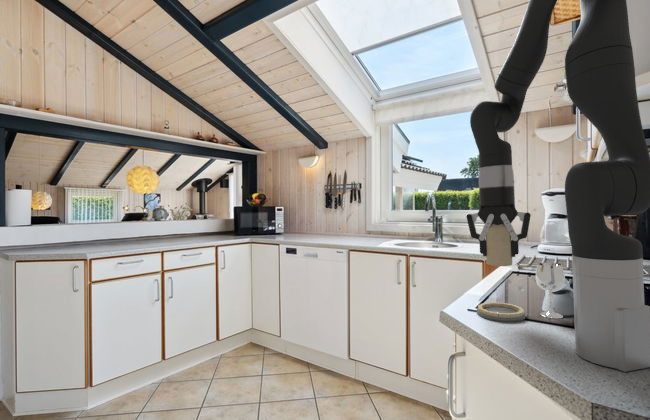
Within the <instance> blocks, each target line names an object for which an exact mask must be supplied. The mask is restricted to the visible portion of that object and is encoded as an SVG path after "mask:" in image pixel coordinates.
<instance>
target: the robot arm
mask: <svg viewBox="0 0 650 420" xmlns="http://www.w3.org/2000/svg"><path fill="white" fill-rule="evenodd" d="M557 2H558V0H528V2H527V7H526V8H525V9H526V10H525V12H524V15H523V18H522V21H521V24H520V26H519V30H518V32H517V35H516V37H515V40H514V43H513V44H512V46H511V48H510V51H509V52H508V55H507V57H506V59H505V61H504V63H503V65H502V66H501V68H500V71H499V73H498V74H497V77H496V79H495V81H494V84H493V85H494V89H495V90H496V91H497V92H498V93H500V94H501V99H500V100H499V101H492V100H491V101H490V100H489V101H488V100H486V101H485V100H484V101H480V102H478V103H476V105H475V106H474V107H473V109H472V111H471V113H470V117H469V118H470V119H469V120H470V121H469V124H470V128H471V132H472V135H473V138H474V141H475V144H476V147H477V150H478V163H479V169H478V170H479V173H478V190H479V191H478V192H479V193H478V194H479V195H478V196H479V208H478V209H479V210H478V211H477V212H475V213H468V214H467V215H466V221H467V224H468V229H469V232H470V233H469V234H470V237H471V238H472V239H476V240H478V242H479V253H480V254H482V257H486V234H487V232H488V229H489V227H490V226H491V225H492V224H495V225H500V224H503V225H505V226H506V228H507V229H508V232H510V236H511V242H512V258H516V255H518V254H520V252H519V249H520V247H519V241H520V240H523V239H527V237H528V232H529V226H530V223H531V222H530V221H531V216H532V215H531V213H530V212H528V211H527V212H523V211H518V210H517V208H516V203H515V202H516V200H515V198H516V196H515V176H514V175H515V174H514V170H513V155H512V154H513V152H512V146H511V143H509V142H508V141H505V140H503V139H501V138H500V136H499V133H505V132H508V131H509V130H511V129H513V127H515V125H516V124H517V122H518V121H519V118H520V116H521V113H522V110H523V106H524V102H525V99H526V95H527V91H528V89H529V87H530V86H531V84H532V83H533V81H534V79H535V78H536V76H537V74H538V72H539V70H540V69H541V67H542V66H543V63H544V60H545V59H546V58H545V57H546V55H547V50H548V46H549V45H548V44H549V43H548V42H549V32H550V24H551V20H552V15H553V12H554V10H555V6H556V4H557ZM579 7H580V22H579V25H578V26H577V27H578V28H577V29H576V31H575V34H574V35H573V37H572V39H571V41H570V44H569V45H568V48H567V50H566V53H565V58H564V70H565V80H566V89H567V94H568V96H569V99H570V100H571V102H572V103H573V105H575V107H576V109H578V110H579V111H580V113H582V115H583V116H585V118H586V119H587V120H588V121H589V122H590V123H591V124H592V125H593V126H594V127H595V129H596V130H597V131H598V133H599V134H600V136H601V137H602V139H603V142H604V144H605V148H606V152H607V155H608V156H607V157H608V160H603V161H602V160H601V161H600V160H599V161H585V162H584V161H583V162H579V163H576V164H574V165H573V166H571V167H570V168H569V170H568V172H567V174H566V176H565V182H564V198H565V201H564V202H565V208H566V219H567V229H568V231H567V232H568V237H569V242H570V245H571V259H572V260H571V261H572V262H571V263H572V265H571V266H572V286H573V287H572V291H573V293H572V294H573V295H572V296H573V316H574V317H573V318H574V339H575V353H576V354H577V355H578V356H579V357H580V358H582V359H583V360H586V361H587V362H590V363H594V364H596V365H599V366H603V367H606V368H612V369H616V370H618V371H621V372H623V373H624V372H631V371H636V370H642V369H647V368H648V369H649V368H650V306H649V305H646V304H645V290H644V287H645V286H644V282H645V281H644V253H643V251H644V250H643V244H642V242H641V241H640V240H639V239H637V238H634V237H631V236H627V235H623V234H620V233H618V232H616V231H614V230H613V229H610V228H609V227H608V225H607V224H606V219H605V217H606V216H607V217H608V216H629V215H631V216H632V215H634V216H635V215H640V214H643V213H645V212H646V211H647V210H649V208H650V152H649V149H648V144H647V141H646V138H645V133H644V129H643V125H642V119H641V112H640V108H639V107H640V106H639V101H638V100H639V99H638V94H637V93H638V92H637V83H636V68H635V59H634V50H633V45H632V40H631V34H630V25H629V24H630V22H629V14H628V13H629V12H628V3H627V0H579ZM516 217H518V218H519V220H520V222H522V225H521V230H520V233H517V232H516V231H515V229H514V227H513V225H512V223H513V222H514V220H515V219H516ZM478 218H479V219H480V221H482V222H483V224H484V225H483V228H482V230H481V233H478V232H477V229H476V225H475V222H477V219H478ZM508 226H509V227H508Z"/></svg>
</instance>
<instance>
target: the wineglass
mask: <svg viewBox="0 0 650 420" xmlns="http://www.w3.org/2000/svg"><path fill="white" fill-rule="evenodd" d="M535 282H536V285H537V286H538V287H539V288H540V289H541V290H543V291H546V292H548V294H547V297H548V301H549V310H548V311H543V312H540V313H539V314H540V316H542V317H545V318H548V319H557V320H558V319H563V317H564V315H563V314H560V313H558V312H557V313H556V312H555V311H554V309H553V301H554V300H553V299H554V295H553V293H555V292H558V291H561V290H563V288H564V287H565V285H566V276H565V272H564V268H563V265H562V263H561V264H560V263H555V262H539V263H537V266H536V271H535Z"/></svg>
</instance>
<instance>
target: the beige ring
mask: <svg viewBox="0 0 650 420" xmlns="http://www.w3.org/2000/svg"><path fill="white" fill-rule="evenodd" d="M476 315H478V316H479V317H480V318H483V319H486V320H490V321H494V322H495V321H496V322H502V323H515V322H516V323H517V322H521V321H525V320H526V318H525V317H526V312H525V310H524V309H523V307H521V306H518V305H515V304H512V303H505V302H483V303H480V304H478V305H477V308H476Z"/></svg>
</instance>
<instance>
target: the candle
mask: <svg viewBox="0 0 650 420" xmlns="http://www.w3.org/2000/svg"><path fill="white" fill-rule="evenodd" d="M508 227H509V226H508ZM485 240H486V256H485V257H486V258H485V259H486V265H488V266H493V267H494V266H495V267H508V266H512V265H513V257H512V242H511V240H512V237H511V236H510V232H508V229H507V228H506V226H505V225H503V224H500V225H495V224H492V225H491V226H490V227H489V229H488V232H487V234H486V237H485Z"/></svg>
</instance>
